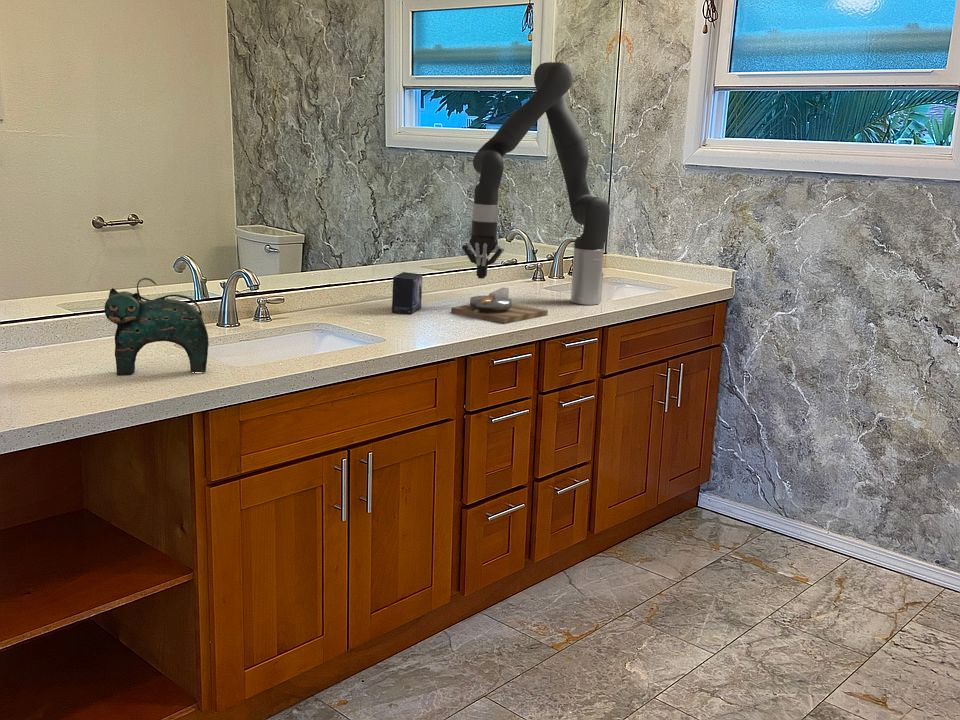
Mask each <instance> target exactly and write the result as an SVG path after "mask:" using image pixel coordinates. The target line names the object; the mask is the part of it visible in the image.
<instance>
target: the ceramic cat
mask: <svg viewBox="0 0 960 720" xmlns="http://www.w3.org/2000/svg"><path fill="white" fill-rule="evenodd" d="M142 281H149V282H151V283H153V284H154V285H157V283H156V282H155V280H153V279H152V278H149V277H144V278H143V277H142V278H141V279H138V281H137V285H136V292H135V293H133V292H129V291H117V290H116V289H115V288H114V287H112V288H111V289H110V291H109V293H108V298H107V300H106V301H105V303H104V315H105V316H106V318H107V320H108V321H110V322H111V323H113V324H115V325H117V326H116V330H115V333H114V358H115V365H116V368H115V369H116V376H132V375H134V373H135V370H136V360H137V357H138V356H137V355H138V353H139V351H141V349H143V347H144V346H146V345H148V344H151V343H156V342H168V343H173V344H176V345H178V346H180V347H182V348H183V349H184V350H185V352H186V354H187V357H188V360H189V367H190V368H189V369H190V373H191V372H194V373H195V372H205V373H206V371H207V365H208V363H207V362H208V356H209V355H208V354H209V353H208V352H209V345H210V344H209V334H208V330H207V327H206V325H205V322H204V319H203V317H202V315H203V313H202V309H201V307H200V305H199V304H198V303H197V302H196V300H194V298H191V297H189V296H187V295H183V294H175V293H174V294H166V295H164V296H160V297H158V298H157V297H156V298H154V299H148V298H146V297H143V296H141V294H140V291H139V285H140V283H141V282H142ZM169 297H170V298H169ZM171 297H175V298H176V297H177V298H182V299H187V300H189V301H191V302H192V303H193V304H194V305H196V307H197V308H198V309H196V308H195V306H193V305H191V304H189V302H185V301H184V300H183V301H182V300H179V299H174V298H171ZM198 310H199V311H198Z"/></svg>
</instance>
